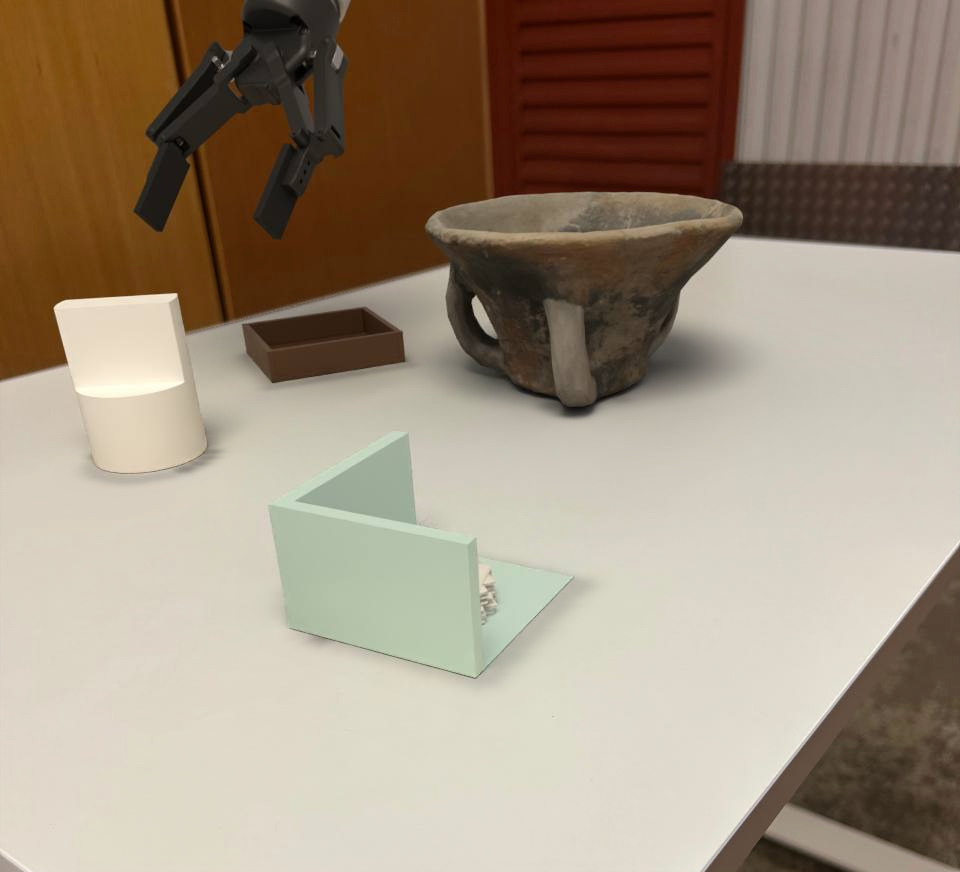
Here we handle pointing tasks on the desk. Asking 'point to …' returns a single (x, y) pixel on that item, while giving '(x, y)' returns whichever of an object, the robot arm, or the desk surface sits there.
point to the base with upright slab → (133, 381)
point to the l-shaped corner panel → (396, 568)
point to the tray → (322, 343)
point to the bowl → (575, 282)
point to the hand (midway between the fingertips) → (204, 225)
